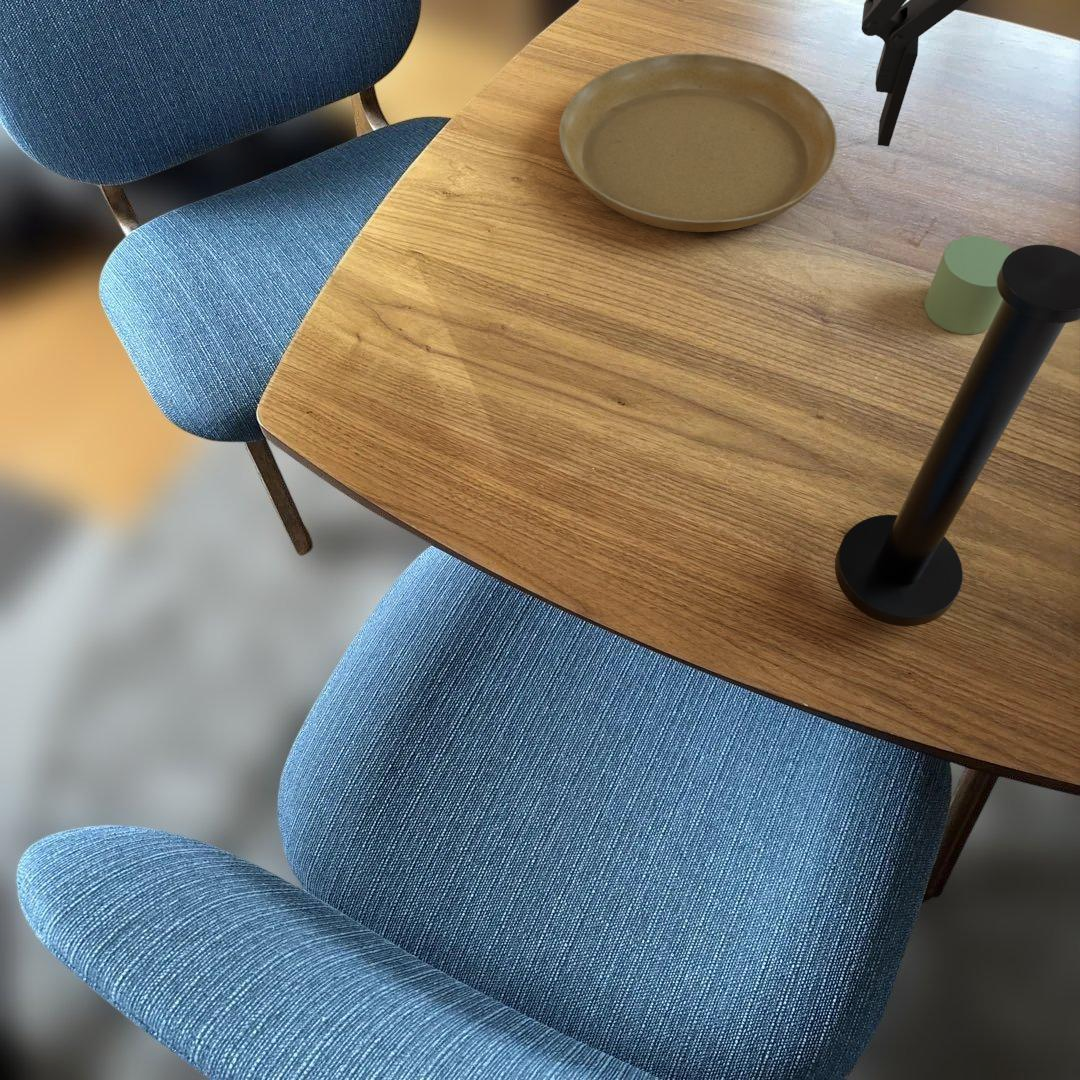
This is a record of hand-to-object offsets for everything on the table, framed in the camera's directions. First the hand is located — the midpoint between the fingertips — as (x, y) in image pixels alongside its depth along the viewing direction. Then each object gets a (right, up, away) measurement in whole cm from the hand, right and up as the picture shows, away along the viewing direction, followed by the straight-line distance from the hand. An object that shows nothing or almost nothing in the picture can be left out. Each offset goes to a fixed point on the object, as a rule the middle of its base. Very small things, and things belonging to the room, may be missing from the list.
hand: (988, 147), depth 68 cm
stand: (-6, -28, 0) cm, 29 cm away
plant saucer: (-16, +8, +25) cm, 30 cm away
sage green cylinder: (+4, -8, +14) cm, 16 cm away
